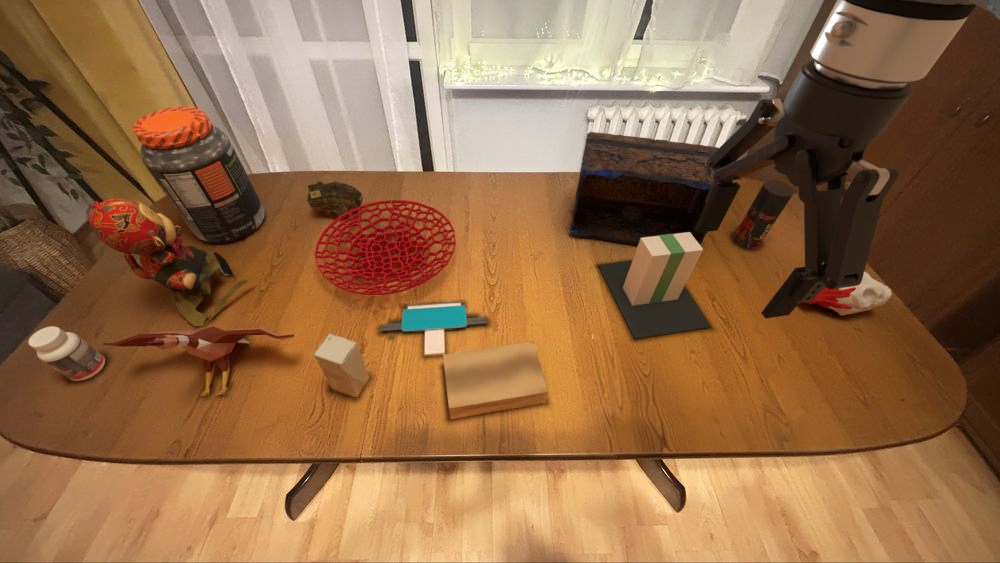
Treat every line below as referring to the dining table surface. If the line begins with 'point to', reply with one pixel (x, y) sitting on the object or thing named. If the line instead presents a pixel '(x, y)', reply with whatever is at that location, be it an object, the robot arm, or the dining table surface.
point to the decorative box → (640, 188)
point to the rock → (334, 198)
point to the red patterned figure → (160, 253)
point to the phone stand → (434, 322)
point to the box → (342, 365)
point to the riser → (493, 379)
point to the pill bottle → (67, 353)
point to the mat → (652, 308)
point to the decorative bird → (201, 346)
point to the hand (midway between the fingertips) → (736, 268)
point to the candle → (854, 297)
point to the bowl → (385, 249)
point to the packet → (661, 268)
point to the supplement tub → (199, 173)
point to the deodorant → (763, 214)
